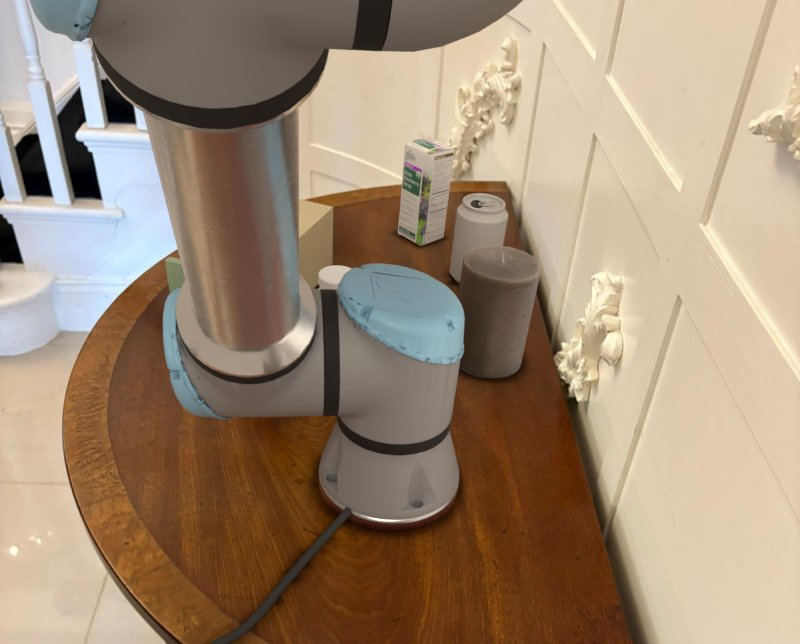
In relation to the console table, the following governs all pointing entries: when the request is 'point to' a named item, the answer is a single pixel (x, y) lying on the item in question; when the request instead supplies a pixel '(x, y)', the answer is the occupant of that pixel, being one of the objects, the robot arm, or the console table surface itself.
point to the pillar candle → (496, 308)
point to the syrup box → (425, 190)
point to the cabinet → (314, 240)
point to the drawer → (174, 274)
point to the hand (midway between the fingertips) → (254, 155)
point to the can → (477, 227)
